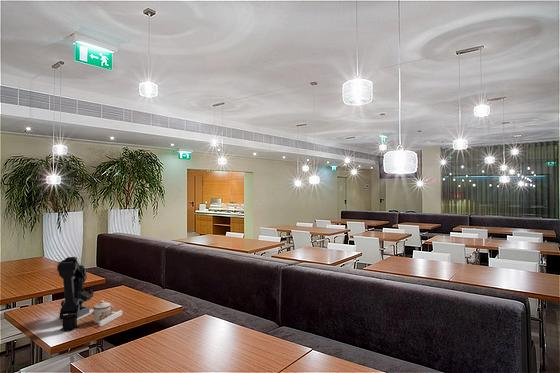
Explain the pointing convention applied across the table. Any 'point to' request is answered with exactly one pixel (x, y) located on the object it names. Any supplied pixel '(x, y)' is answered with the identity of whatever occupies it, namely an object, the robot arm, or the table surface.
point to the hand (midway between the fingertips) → (77, 313)
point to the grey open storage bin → (86, 311)
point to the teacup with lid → (102, 311)
